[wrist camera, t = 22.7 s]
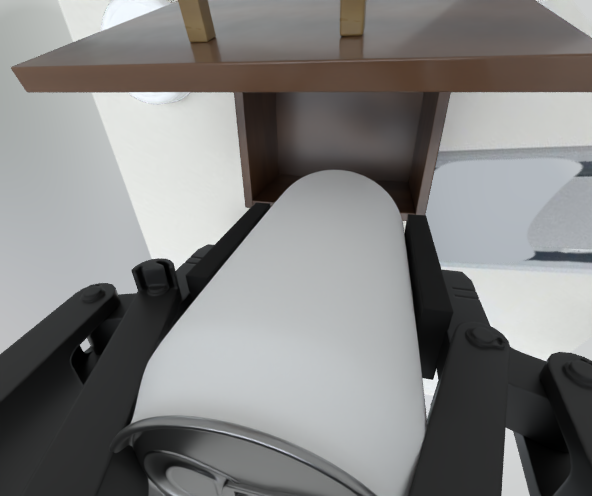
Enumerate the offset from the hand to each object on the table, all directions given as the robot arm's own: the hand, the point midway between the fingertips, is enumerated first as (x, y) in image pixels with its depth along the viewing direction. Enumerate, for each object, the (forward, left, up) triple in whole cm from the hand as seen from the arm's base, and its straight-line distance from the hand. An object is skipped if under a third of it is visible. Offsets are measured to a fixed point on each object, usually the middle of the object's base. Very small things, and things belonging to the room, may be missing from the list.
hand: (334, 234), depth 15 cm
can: (0, 0, -1) cm, 1 cm away
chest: (+4, -2, -23) cm, 23 cm away
